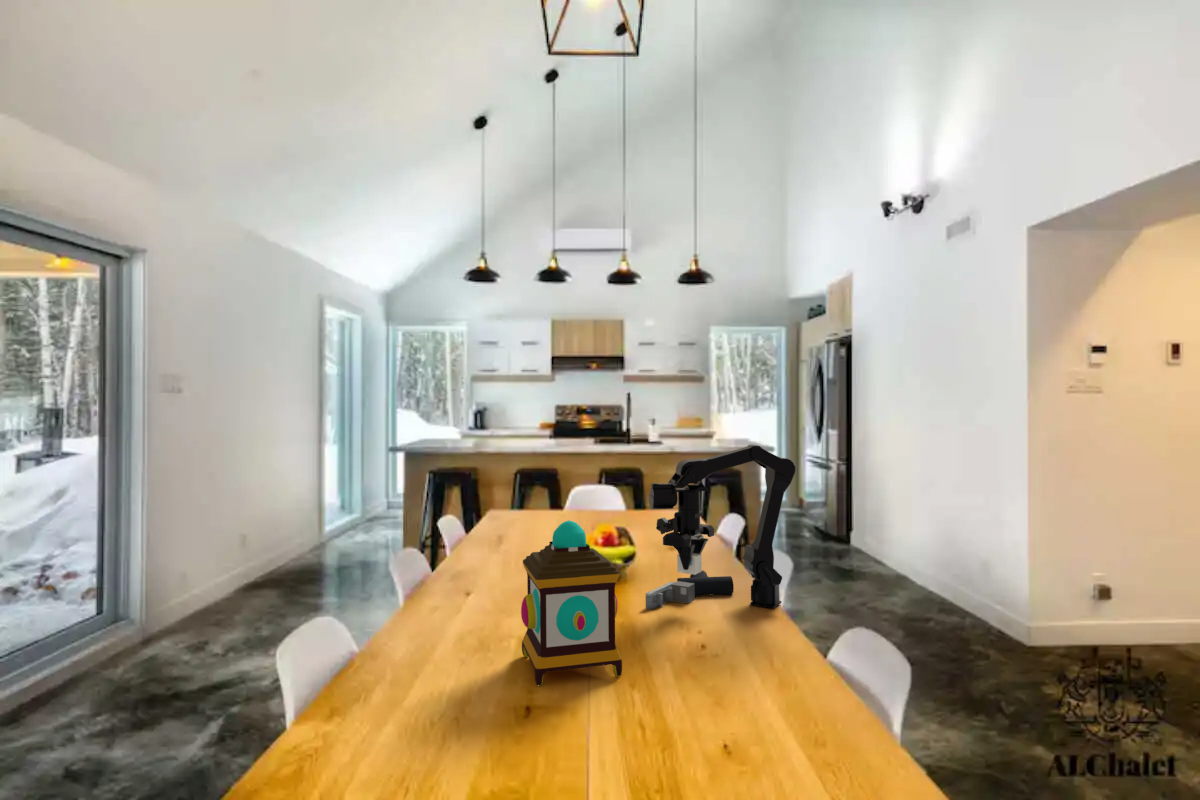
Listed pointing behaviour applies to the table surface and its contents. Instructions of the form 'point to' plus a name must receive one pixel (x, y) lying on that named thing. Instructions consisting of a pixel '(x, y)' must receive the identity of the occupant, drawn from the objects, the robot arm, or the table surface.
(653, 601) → the rail
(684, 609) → the table surface
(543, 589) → the decorative lantern
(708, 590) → the pipe connector
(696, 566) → the block
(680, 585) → the block
